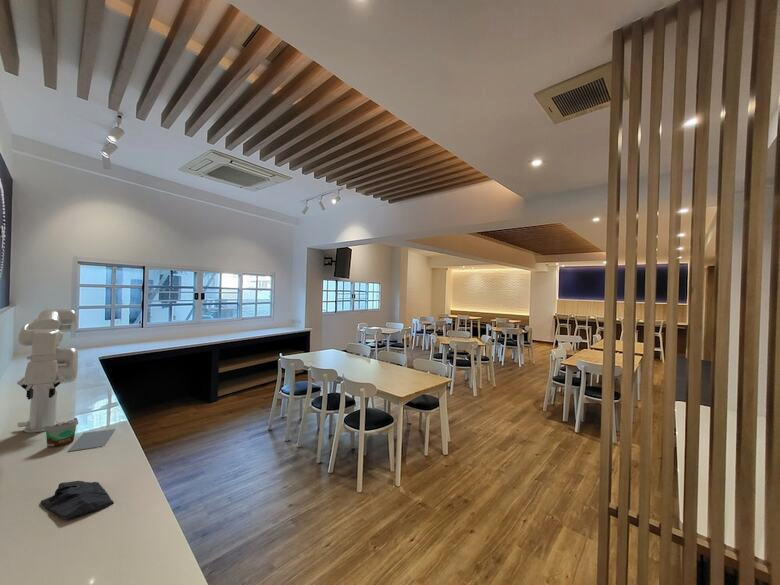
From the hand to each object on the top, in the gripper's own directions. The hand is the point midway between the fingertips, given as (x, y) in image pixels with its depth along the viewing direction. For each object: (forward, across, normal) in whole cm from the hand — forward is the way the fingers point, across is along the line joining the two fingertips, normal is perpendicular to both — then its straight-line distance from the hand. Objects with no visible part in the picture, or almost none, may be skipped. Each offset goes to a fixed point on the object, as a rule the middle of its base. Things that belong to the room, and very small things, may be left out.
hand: (40, 397), depth 148 cm
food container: (+23, +9, 0) cm, 25 cm away
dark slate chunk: (+23, +28, -59) cm, 70 cm away
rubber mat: (+23, +19, 0) cm, 30 cm away
